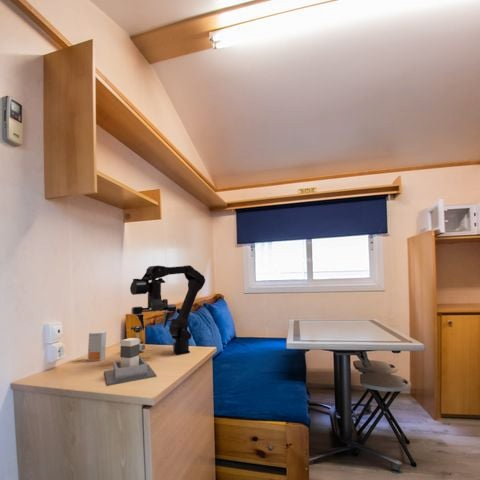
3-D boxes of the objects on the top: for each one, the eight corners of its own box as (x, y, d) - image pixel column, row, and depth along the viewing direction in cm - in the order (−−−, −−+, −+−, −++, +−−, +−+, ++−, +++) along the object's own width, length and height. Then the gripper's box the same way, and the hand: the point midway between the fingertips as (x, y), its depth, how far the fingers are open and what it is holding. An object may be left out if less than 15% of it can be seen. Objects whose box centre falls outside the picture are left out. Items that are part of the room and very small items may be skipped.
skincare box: (87, 361, 125) (88, 333, 127) (92, 358, 130) (93, 331, 131) (100, 361, 125) (101, 332, 127) (105, 358, 129) (106, 331, 131)
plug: (129, 370, 108) (130, 337, 110) (139, 371, 106) (139, 338, 108) (119, 374, 104) (120, 340, 106) (129, 375, 102) (130, 340, 104)
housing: (147, 365, 116) (147, 355, 116) (156, 376, 102) (156, 364, 102) (104, 372, 108) (104, 361, 109) (107, 385, 94) (107, 372, 95)
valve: (139, 353, 135) (140, 328, 137) (127, 353, 137) (127, 328, 138) (146, 350, 142) (147, 325, 144) (134, 350, 143) (135, 325, 145)
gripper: (135, 295, 117) (134, 334, 115) (179, 292, 126) (179, 329, 124) (131, 294, 127) (130, 330, 125) (173, 292, 136) (172, 325, 134)
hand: (154, 329), depth 126 cm, fingers open, 9 cm apart
